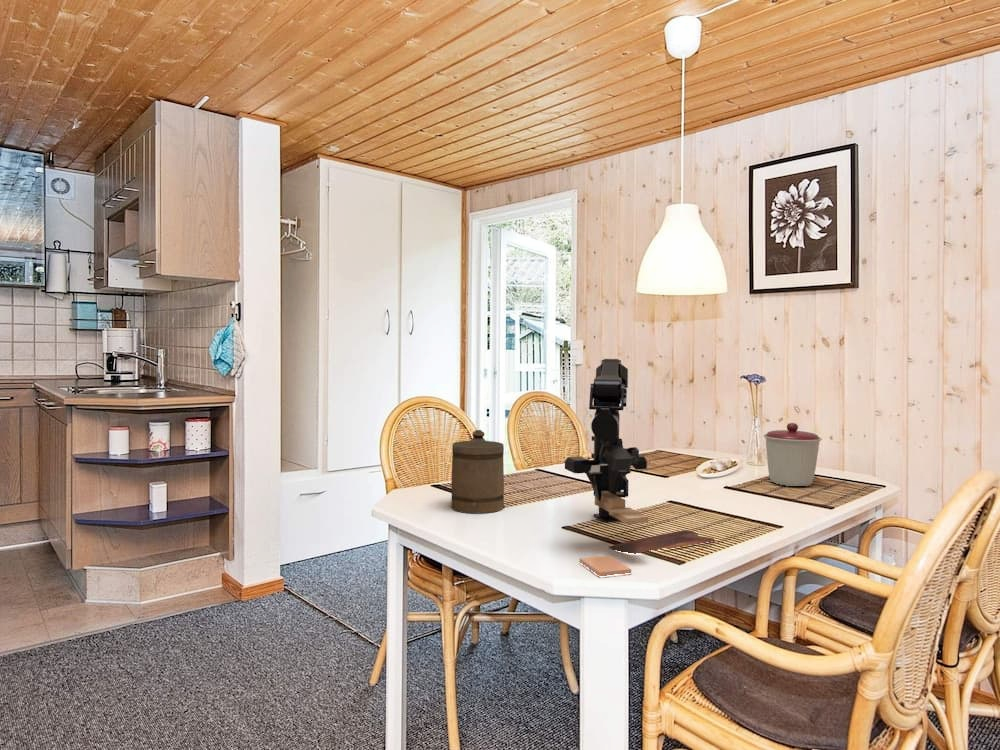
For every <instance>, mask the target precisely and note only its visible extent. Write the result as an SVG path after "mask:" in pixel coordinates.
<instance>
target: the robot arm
mask: <svg viewBox="0 0 1000 750" xmlns="http://www.w3.org/2000/svg"><path fill="white" fill-rule="evenodd" d="M600 363H601V364H600V365H599V366H598V367H596V369H595V378H594V379H593V383H590V387H589V388H590V391H589V403H588V404H589V405H588V409H589V410H593V411H595V412H594V417H593V419H592V421H591V425H590V427H591V428H590V429H591V432H592V434H593V435H591V441H593V453H591V454H590V455H591V459H588V458H586V457H583V456H567V458H566V459H565V461H564V470H566V471H569V472H571V473H573V474H585V475H586V477H587V478H588V481H589V482H590V485H591V487H592V489H593V497H595V495H596V497H597V500H599V501H601V491H608V492H610V493H612V494H614V495H616V496H618V497H620V498H623V499H625V498H627V497H629V480H628V478H627V475H628V474H631V473H632V471H631V466H632V467H633V468H634V469H635V470H637V471H638V470H647V469H648V460H647V458H646V457H645V456H643V455H641V454H640V451H639V449H638V448H637V447H636V446H634V447H633V446H632V447H628V448H625V447H624V446H623V445H624V444H623V439H622V438H620V415H621V414H620V411H624V408H625V407H627V401H628V400H627V397H628V396H627V395H628V388H629V386H628V385H629V369H628V367H626V366H624V364H622V360H621V359H619V358H604V359H601V361H600ZM593 516H594V517H596V518H597V519H599V520H601V521H603V522H614V521H615V522H616V521H619V520H618V519H617V518H615V517H613V516H611V515H609V512H608V511H606V510H604V509H603V508H601V507H599V506H598V513H594V514H593Z"/></svg>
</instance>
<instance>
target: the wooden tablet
mask: <svg viewBox="0 0 1000 750" xmlns="http://www.w3.org/2000/svg"><path fill="white" fill-rule="evenodd" d="M698 535H699V534H698V533H697V532H695V531H692V530H688V529H687V530H686V529H685V530H678V531H672V532H666V533H661V534H658V535H652V536H647V537H643V538H638V539H635V540H629V541H626V542H622V543H617V544H614V545H611V546H608V548H609V549H611V550H612V549H613V551H614V550H617V551H621V552H628V553H634V554H636V553H642V552H644V551H645V552H646V551H649V550H650V551H651V550H658V549H662V548H675V547H680V546H686V545H694V544H700V543H706V542H711V541H714V540H715V538H713V537H708V536H700V537H699V536H698Z"/></svg>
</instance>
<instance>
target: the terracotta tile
mask: <svg viewBox="0 0 1000 750" xmlns="http://www.w3.org/2000/svg"><path fill="white" fill-rule="evenodd" d="M580 563H582V564H583V565H585V566H586V567H588V568H589V569H590V570H592V571H593V572H595V573H596V574H597V575H599V576H607V575H614V574H625V573H631V574H632V568H630V567H628V566H627V565H626V564H624V563H622V562H621V561H619V560H618V559H616V558H614V557H613V556H612V555H602V556H600V555H599V556H591V557H581V558H579V564H580Z"/></svg>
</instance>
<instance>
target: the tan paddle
mask: <svg viewBox="0 0 1000 750" xmlns="http://www.w3.org/2000/svg"><path fill="white" fill-rule="evenodd" d="M594 505H595V506H597V507H598V508H599V507H601V508H603V509H604V510H606V511H608V512H609V515H611V516H613V517H615V518H617V519H618V520H617V521H621V522H623V523H624V524H627V525H635V524H644V523H645V524H646V523H649V516H648V515H646V514H644V513H641V512H639V511H637V510H635V509H633V508H631V507H626V499H625V498H623V497H621V498H620V497H618V496H616V495H614V494H612V493H610V492H608V491H601V501H599V500H597V497H596V495H595V496H594Z"/></svg>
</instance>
